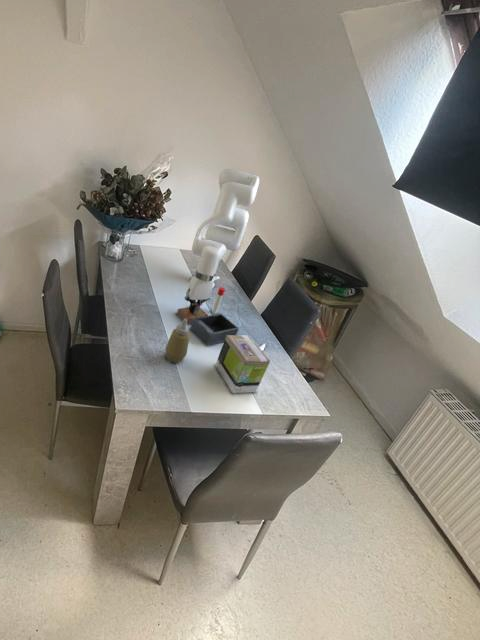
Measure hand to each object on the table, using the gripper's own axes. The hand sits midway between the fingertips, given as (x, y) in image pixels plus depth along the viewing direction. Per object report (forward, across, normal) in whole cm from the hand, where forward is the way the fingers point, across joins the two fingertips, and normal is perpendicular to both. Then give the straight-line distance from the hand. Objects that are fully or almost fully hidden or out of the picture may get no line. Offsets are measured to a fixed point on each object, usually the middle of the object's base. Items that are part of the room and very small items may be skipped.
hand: (193, 311), depth 171 cm
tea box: (+4, +1, +40) cm, 40 cm away
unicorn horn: (+4, -14, +29) cm, 33 cm away
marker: (+3, -14, -3) cm, 14 cm away
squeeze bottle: (+4, +20, +26) cm, 33 cm away
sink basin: (+3, -4, +13) cm, 14 cm away
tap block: (+3, 0, 0) cm, 3 cm away
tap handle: (0, 0, 0) cm, 0 cm away
